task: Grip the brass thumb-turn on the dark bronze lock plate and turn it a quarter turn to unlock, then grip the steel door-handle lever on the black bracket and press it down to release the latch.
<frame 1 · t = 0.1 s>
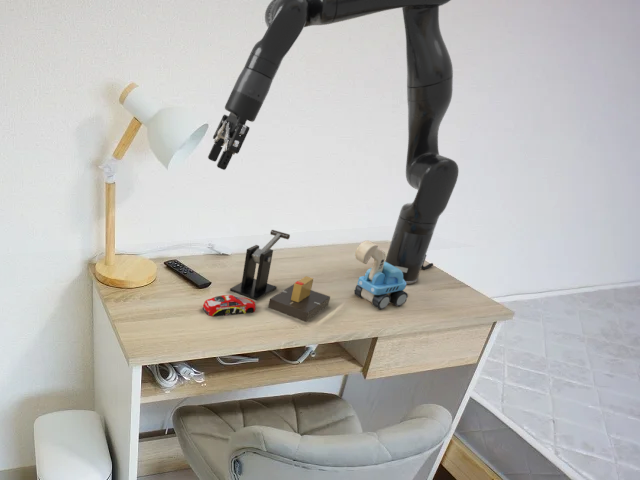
hand: (215, 164, 122), 31 cm above the table, tool tilted 20°, fingers open, 8 cm apart
race car: (229, 312, 125), on the table
lock knob: (302, 288, 125), point 5 cm above the table, hinge at 0.0°
door lever: (268, 246, 132), point 12 cm above the table, hinge at 20.0°
lever bracket: (253, 291, 135), on the table
toy excavator: (369, 303, 131), on the table
lock plate: (297, 308, 127), on the table
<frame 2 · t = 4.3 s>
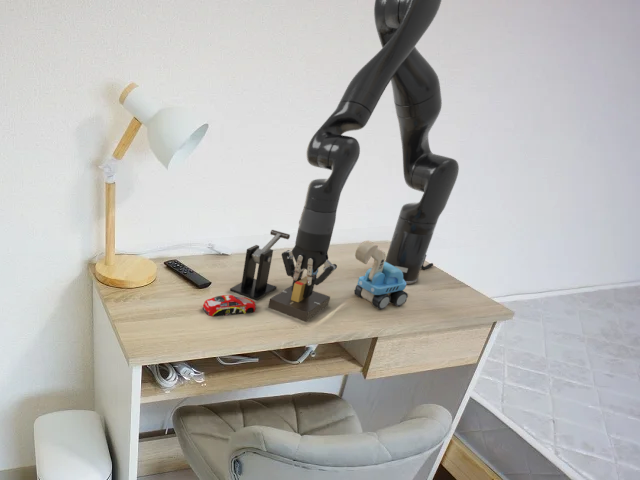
hand: (300, 295, 126), 4 cm above the table, tool pointing down, fingers closed on lock knob, 2 cm apart
lock knob: (302, 288, 125), point 5 cm above the table, hinge at 0.0°, touching gripper
everything else where it was.
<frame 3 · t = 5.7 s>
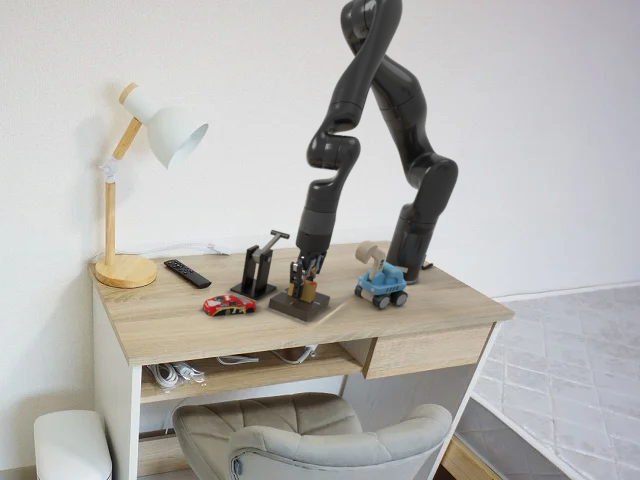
hand: (301, 294, 125), 4 cm above the table, tool pointing down, fingers open, 4 cm apart
lock knob: (302, 288, 125), point 5 cm above the table, hinge at 89.8°
everything else where it was.
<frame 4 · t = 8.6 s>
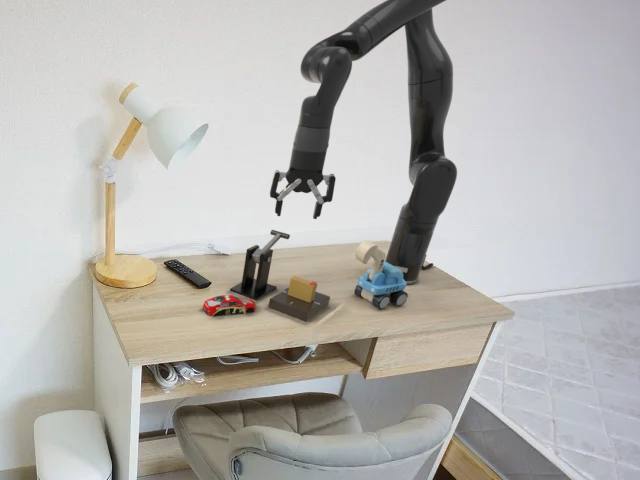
hand: (296, 216, 125), 20 cm above the table, tool pointing down, fingers open, 8 cm apart
nothing on the table moved.
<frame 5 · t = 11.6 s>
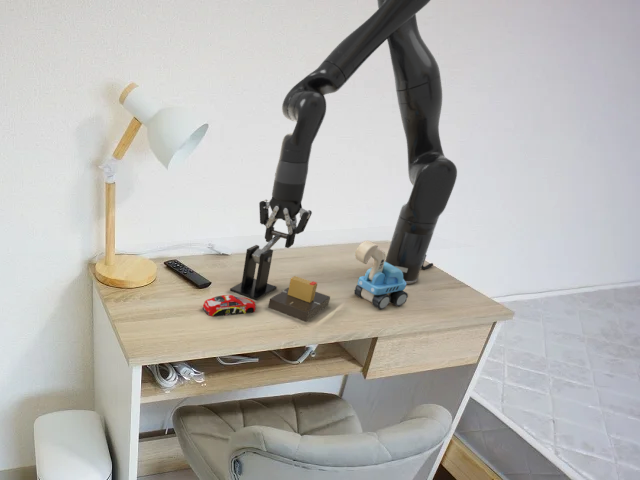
hand: (278, 243, 135), 11 cm above the table, tool pointing down, fingers closed on door lever, 5 cm apart
door lever: (268, 246, 132), point 12 cm above the table, hinge at 20.0°, touching gripper
everything else where it was.
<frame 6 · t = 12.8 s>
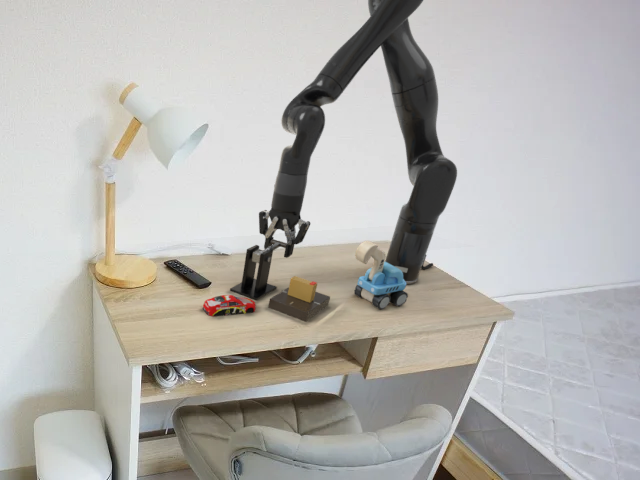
hand: (277, 253, 137), 8 cm above the table, tool pointing down, fingers closed on door lever, 5 cm apart
door lever: (268, 250, 132), point 10 cm above the table, hinge at 4.1°, touching gripper
everything else where it was.
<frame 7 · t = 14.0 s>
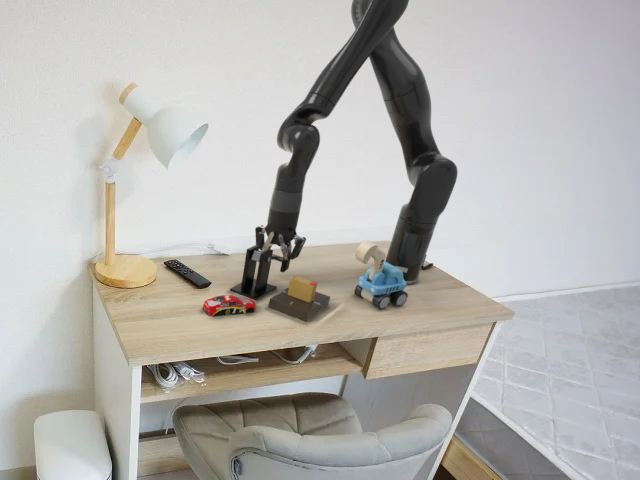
hand: (273, 268, 139), 4 cm above the table, tool pointing down, fingers closed on door lever, 5 cm apart
door lever: (267, 256, 133), point 9 cm above the table, hinge at -18.0°, touching gripper
everything else where it was.
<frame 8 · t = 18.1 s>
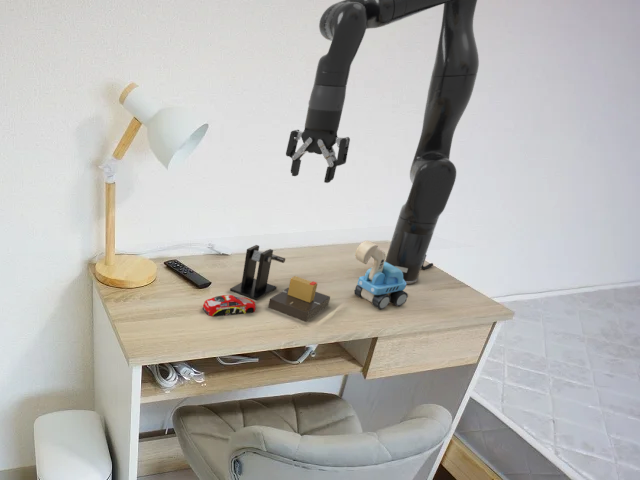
hand: (310, 178, 125), 28 cm above the table, tool pointing down, fingers open, 8 cm apart
door lever: (267, 257, 133), point 9 cm above the table, hinge at -18.5°
everything else where it was.
at the end: lock knob at +90° (first picture: +0°); door lever at -18° (first picture: +20°) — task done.
